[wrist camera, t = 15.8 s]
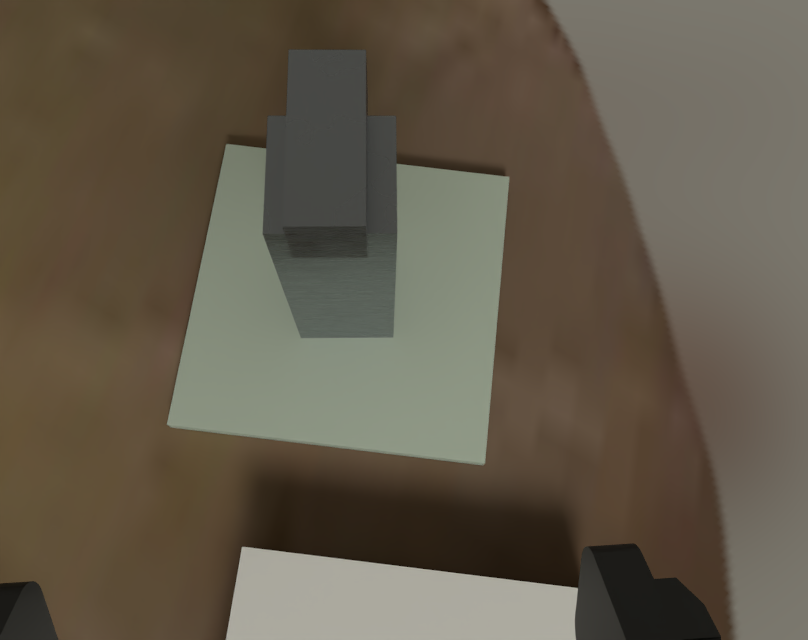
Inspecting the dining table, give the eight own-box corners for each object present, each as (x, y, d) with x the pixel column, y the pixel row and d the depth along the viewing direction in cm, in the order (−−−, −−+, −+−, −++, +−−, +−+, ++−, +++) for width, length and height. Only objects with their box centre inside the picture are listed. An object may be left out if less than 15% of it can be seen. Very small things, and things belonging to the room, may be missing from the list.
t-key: (300, 355, 30) (248, 226, 19) (303, 236, 32) (257, 49, 20) (393, 354, 30) (399, 226, 19) (392, 236, 32) (396, 50, 20)
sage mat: (171, 427, 30) (166, 424, 29) (228, 151, 33) (226, 143, 33) (483, 465, 30) (484, 463, 29) (507, 183, 33) (509, 176, 33)
